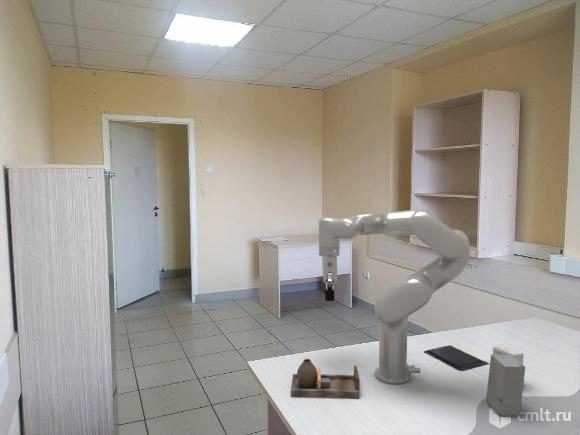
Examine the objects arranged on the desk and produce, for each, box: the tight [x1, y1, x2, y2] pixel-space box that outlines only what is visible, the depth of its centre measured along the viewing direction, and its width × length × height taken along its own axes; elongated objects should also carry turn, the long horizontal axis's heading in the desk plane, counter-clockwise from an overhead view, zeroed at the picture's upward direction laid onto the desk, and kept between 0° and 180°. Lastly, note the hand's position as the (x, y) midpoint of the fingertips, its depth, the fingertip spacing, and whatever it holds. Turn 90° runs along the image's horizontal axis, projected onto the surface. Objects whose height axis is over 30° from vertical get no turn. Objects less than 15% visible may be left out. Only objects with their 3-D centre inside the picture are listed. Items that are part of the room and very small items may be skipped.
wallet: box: [423, 344, 490, 372], centre depth 168 cm, size 20×2×15 cm
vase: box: [296, 358, 318, 388], centre depth 145 cm, size 7×7×9 cm
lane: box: [290, 365, 361, 400], centre depth 144 cm, size 22×12×6 cm, turn 86°
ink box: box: [492, 344, 524, 365], centre depth 147 cm, size 9×5×12 cm, turn 26°
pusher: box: [317, 367, 330, 389], centre depth 144 cm, size 4×9×4 cm, turn 176°
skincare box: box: [485, 353, 526, 417], centre depth 130 cm, size 8×7×16 cm
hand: (329, 296), depth 160 cm, fingers open, 9 cm apart
